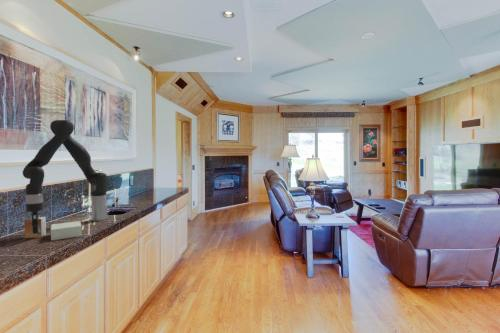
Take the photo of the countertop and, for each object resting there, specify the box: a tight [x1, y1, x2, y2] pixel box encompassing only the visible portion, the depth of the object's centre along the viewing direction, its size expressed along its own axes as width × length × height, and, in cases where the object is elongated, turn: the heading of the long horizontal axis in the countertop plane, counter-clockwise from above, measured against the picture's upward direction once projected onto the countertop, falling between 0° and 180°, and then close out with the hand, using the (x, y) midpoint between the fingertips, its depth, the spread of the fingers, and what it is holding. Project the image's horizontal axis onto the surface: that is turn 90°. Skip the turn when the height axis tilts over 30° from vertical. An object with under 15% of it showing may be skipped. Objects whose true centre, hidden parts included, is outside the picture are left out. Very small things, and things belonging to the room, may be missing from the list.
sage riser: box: [50, 220, 83, 241], centre depth 155 cm, size 14×14×6 cm
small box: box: [24, 216, 47, 239], centre depth 152 cm, size 8×6×10 cm
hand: (35, 231), depth 152 cm, fingers closed on small box, 7 cm apart
